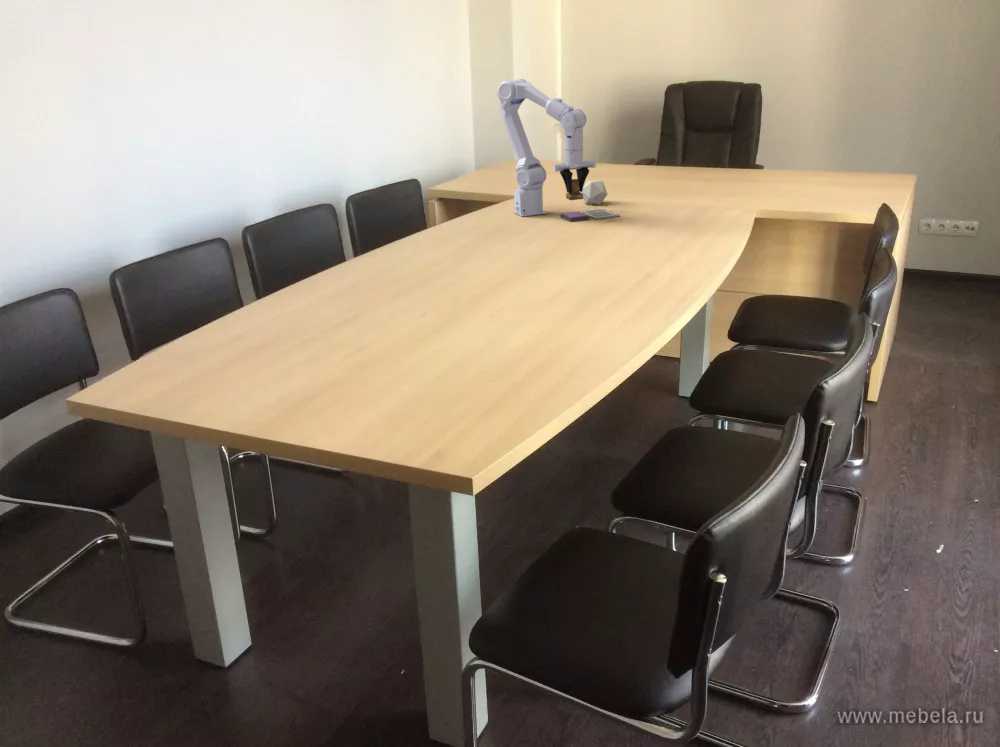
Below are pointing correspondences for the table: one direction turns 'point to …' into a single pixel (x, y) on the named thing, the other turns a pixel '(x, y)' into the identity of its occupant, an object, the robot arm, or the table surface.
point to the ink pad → (574, 216)
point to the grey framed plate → (600, 214)
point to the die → (594, 192)
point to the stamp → (574, 191)
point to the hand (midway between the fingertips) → (574, 191)
